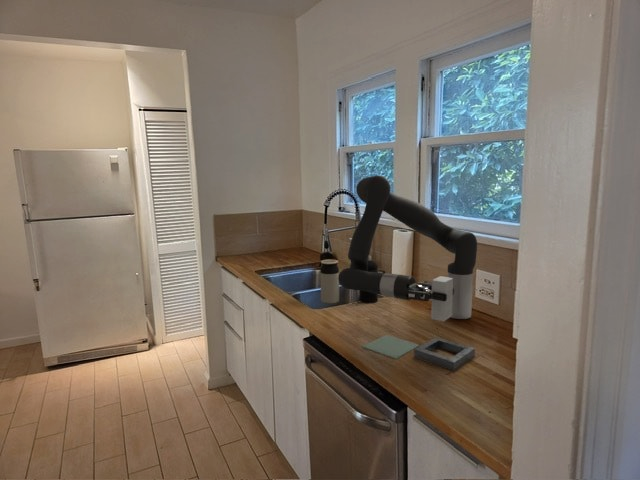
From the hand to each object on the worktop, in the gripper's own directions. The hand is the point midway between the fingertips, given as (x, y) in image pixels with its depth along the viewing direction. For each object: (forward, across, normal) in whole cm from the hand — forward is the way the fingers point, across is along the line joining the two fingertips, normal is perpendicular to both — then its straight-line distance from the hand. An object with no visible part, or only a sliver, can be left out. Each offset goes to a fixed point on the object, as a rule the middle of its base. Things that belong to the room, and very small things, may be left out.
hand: (450, 294), depth 121 cm
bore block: (-1, 0, +20) cm, 20 cm away
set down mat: (-18, -2, +20) cm, 27 cm away
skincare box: (-2, 0, +8) cm, 8 cm away
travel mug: (-61, +28, +20) cm, 70 cm away
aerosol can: (-47, +38, +20) cm, 64 cm away
